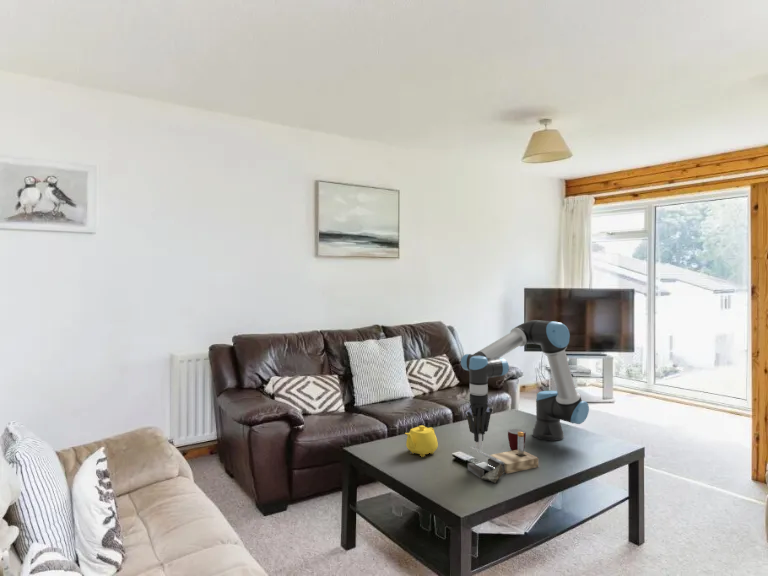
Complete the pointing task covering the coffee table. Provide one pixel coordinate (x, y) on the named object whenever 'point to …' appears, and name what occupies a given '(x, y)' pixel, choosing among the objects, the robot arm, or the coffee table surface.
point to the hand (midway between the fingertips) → (478, 448)
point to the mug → (514, 438)
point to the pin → (520, 444)
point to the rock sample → (494, 474)
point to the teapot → (422, 440)
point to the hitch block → (508, 462)
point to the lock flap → (487, 455)
